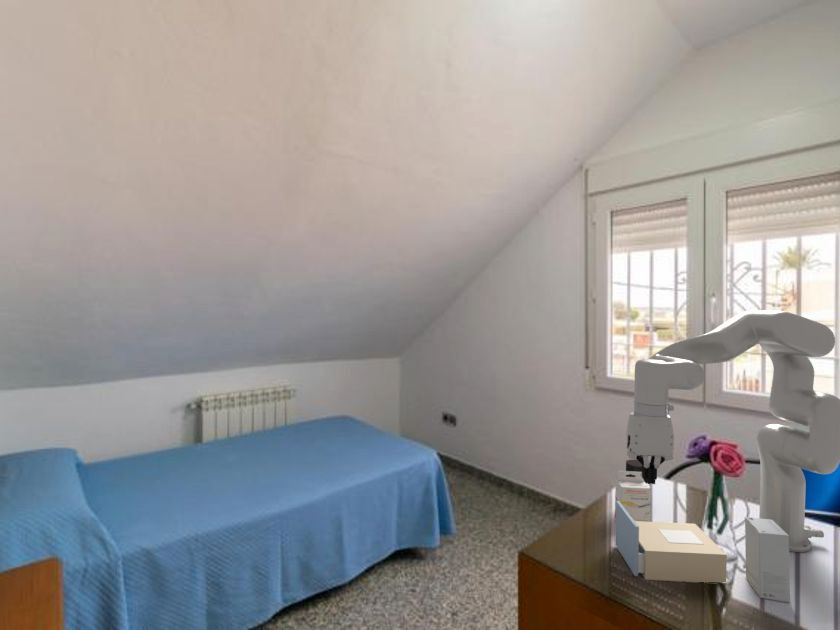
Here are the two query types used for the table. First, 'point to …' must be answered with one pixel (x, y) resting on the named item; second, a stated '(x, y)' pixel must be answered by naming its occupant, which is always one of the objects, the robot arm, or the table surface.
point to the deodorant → (633, 467)
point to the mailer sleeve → (680, 553)
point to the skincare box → (767, 559)
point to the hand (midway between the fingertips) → (649, 481)
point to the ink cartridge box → (633, 495)
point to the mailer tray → (629, 540)
